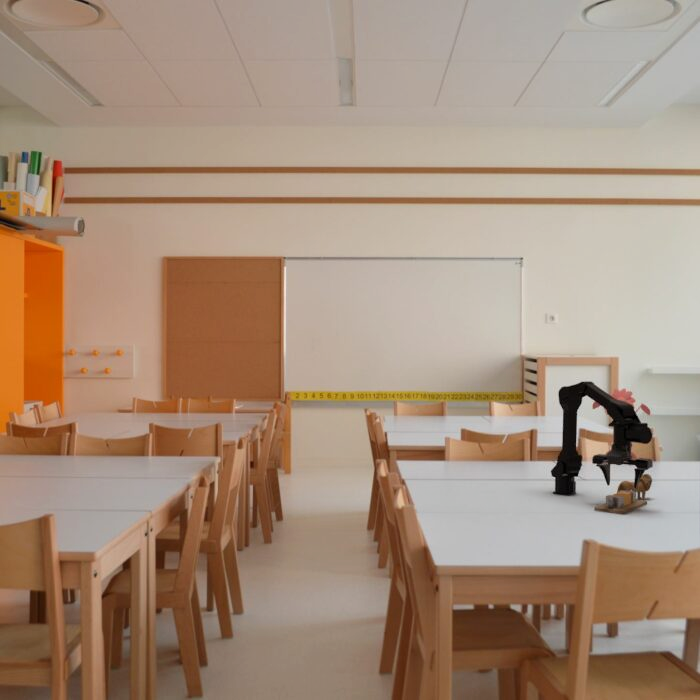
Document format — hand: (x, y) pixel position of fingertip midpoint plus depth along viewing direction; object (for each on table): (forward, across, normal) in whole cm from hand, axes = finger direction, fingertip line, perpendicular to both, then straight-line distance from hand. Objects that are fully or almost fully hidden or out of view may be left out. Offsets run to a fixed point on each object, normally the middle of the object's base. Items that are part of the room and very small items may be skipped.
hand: (621, 486), depth 265 cm
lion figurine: (+7, -2, +17) cm, 19 cm away
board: (+7, 0, 0) cm, 7 cm away
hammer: (+6, 0, 0) cm, 6 cm away
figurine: (+7, -37, +102) cm, 109 cm away
